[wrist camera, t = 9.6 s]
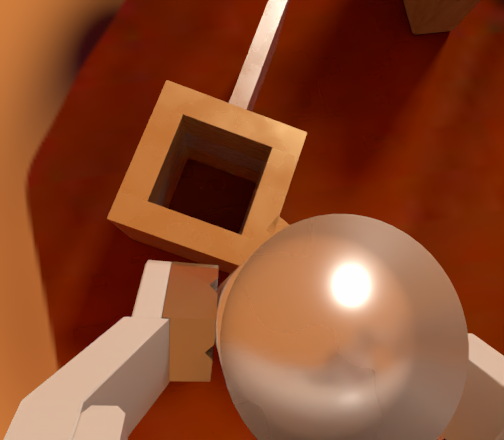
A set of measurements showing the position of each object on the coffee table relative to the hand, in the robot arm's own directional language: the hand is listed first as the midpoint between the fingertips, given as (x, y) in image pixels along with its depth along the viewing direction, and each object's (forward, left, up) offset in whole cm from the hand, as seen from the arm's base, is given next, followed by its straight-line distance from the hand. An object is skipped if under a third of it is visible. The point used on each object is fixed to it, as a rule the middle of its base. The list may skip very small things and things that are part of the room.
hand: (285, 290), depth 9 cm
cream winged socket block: (+4, -8, -18) cm, 21 cm away
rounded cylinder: (-1, 0, -6) cm, 6 cm away
